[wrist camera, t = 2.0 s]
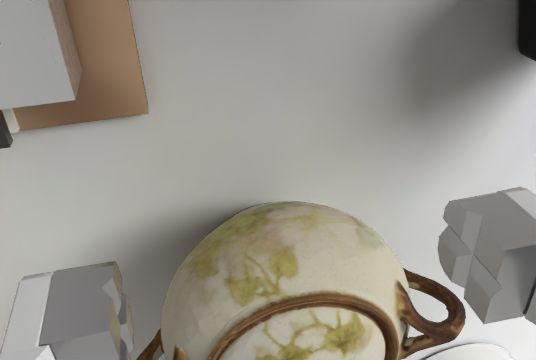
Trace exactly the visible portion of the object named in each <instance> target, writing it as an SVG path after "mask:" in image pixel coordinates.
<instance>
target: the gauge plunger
mask: <svg viewBox="0 0 536 360" xmlns="http://www.w3.org/2000/svg"><path fill="white" fill-rule="evenodd" d="M81 74H82V69H81V65H80V61H79V57H78V53H77V50H76V46H75V42H74V38H73V34H72V30H71V27H70V23H69V19H68V15H67V11H66V7H65V3H64V0H0V149H1V148H8V147H10V146H11V144H12V142H13V139H12V137H11V134H10V131H9V128H8V126H7V123H6V120H5V118H4V115H3V112H2V110H1V109H9V108H17V107H25V106H33V105H41V104H48V103H56V102H64V101H72V100H75V99H76V95H77V91H78V86H79V82H80V78H81Z"/></svg>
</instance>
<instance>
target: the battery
mask: <svg viewBox="0 0 536 360" xmlns="http://www.w3.org/2000/svg"><path fill="white" fill-rule="evenodd" d="M518 48H519V52H520V53H521V54H523V55H525V56H527V57H528V58H531V59H533V60H535V61H536V0H519V39H518Z"/></svg>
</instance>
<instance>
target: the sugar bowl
mask: <svg viewBox="0 0 536 360" xmlns="http://www.w3.org/2000/svg"><path fill="white" fill-rule="evenodd" d="M409 288H412V289H416V290H418V291H421V292H424V293H426V294H428V295H431V296H432V297H434V298H436V299H437V300H439V301H441V302H442V303H444V304H445V305H446V306H447V308H446V309H447V310H448V312H449V314H448V318H447V319H446V320H444V321H442V322H438V323H437V322H432V321H428V320H426V319H425V318H423V317H422V316H421V315H419V314H418V312H417V311H416V310H415V308H414V306H413V305H412V302H411V296H410V290H409ZM465 318H466V315H465V309H464V306H463V303H462V302H461V301H460V300H459V299H458V297H457V296H456V295H455V294H453V293H452V292H451V291H450V290H449V289H447V288H446V287H444V286H443V285H441V284H439V283H437V282H436V281H434V280H431V279H428V278H426V277H423V276H420V275H418V274H415V273H412V272H410V271H408V270H406V269H404V268H403V267H402V265H401V263H400V261H399V259H398V257H397V256H396V254H395V253H394V251H393V250H392V249H391V247H390V246H389V245H388V244H387V242H386V241H385V240H384V239H383V238H382V237H381V236H380V235H378V234H377V233H376V232H375V231H374V230H373V229H372V228H371V227H370V226H368V225H367V224H365V223H364V222H362V221H360V220H359V219H357V218H355V217H353V216H351V215H349V214H347V213H345V212H342V211H340V210H337V209H334V208H331V207H327V206H323V205H318V204H313V203H306V202H277V203H266V204H261V205H256V206H253V207H250V208H247V209H245V210H243V211H241V212H239V213H238V214H236V215H235V216H233V217H232V218H230V219H229V220H227V221H226V222H224V223H223V224H222V225H220V226H219V227H218V228H216V229H215V230H214V231H212V232H211V233H210V234H208V235H207V236H206V237H205V238H204V239H203V240H202V241H201V242H200V243H199V244H198V245H197V246H196V247H195V248H194V249H193V250H192V251H191V252H190V253H189V254H188V256H187V257H186V258H185V259H184V261H183V262H182V263H181V265H180V266H179V268H178V270H177V271H176V273H175V275H174V277H173V279H172V281H171V283H170V285H169V288H168V290H167V294H166V298H165V301H164V305H163V309H162V317H161V328H160V330H159V331H158V332H157V334H156V336H155V338H154V339H153V340H152V342H151V343H150V344H149V345H148V346H147V347H146V348H145V350H144V351H143V352H142V353H141V354H140V356H139V357H138V358H137V360H158V358H159V357H160V356H161V355H162V354H163V353H164V354H165V358H166V360H400V359H405V358H406V357H408V356H409V355H411V354H413V353H415V352H417V351H420V350H423V349H427V348H430V347H434V346H437V345H441V344H444V343H448V342H450V341H453V340H455V338H456V337H457V336H458V335H459V333H460V332H461V330H462V328H463V326H464V324H465ZM410 325H411V326H412V327H413V328H415V329H416V330H418V331H419V332H421V333H423V334H424V335H420V336H417V337H409V338H408V337H407V336H408V331H409V326H410Z"/></svg>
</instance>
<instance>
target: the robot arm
mask: <svg viewBox="0 0 536 360" xmlns="http://www.w3.org/2000/svg"><path fill="white" fill-rule="evenodd" d="M443 219H444V220H445V222H446V223H447V224H448V227H447V228H446V229H445V230H444V231H443V232H442V234H441V235H440V236H439V243H438V254H439V260H440V264H441V266H442V268H443V270H444V272H445V274H446V275H447V276H448V278H449V279H450V280H451V282H453V283H455V284H457V285H459V286H461V287H463V288H465V291H464V299H465V300H466V302H467V303H468V304H469V305H470V307H471V308H472V309H473V311H474V312H475V313H476V314H477V316H478V317H479V318H480V320H481V321H482V322H483V324H487V323H492V322H497V321H502V320H507V319H512V318H517V317H522V316H525V318H526V319H527V320H529V321H531V322H532V323H534V324H535V325H536V195H535V194H533V193H532V192H531V191H530V190H528V189H526V188H522V187H517V188H512V189H507V190H502V191H497V192H496V193H490V194H484V195H479V196H474V197H468V198H463V199H458V200H452V201H449V203H448V204H447V206H446V207H445V211H444V215H443ZM121 285H122V278H121V275H120V271H119V268H118V265H117V263H116V262H115V261H114V262H108V263H101V264H95V265H89V266H83V267H76V268H70V269H64V270H57V271H55V272H48V273H41V274H35V275H29V276H24V278H23V279H22V280H21V281H20V283H19V285H18V289H17V292H16V296H15V300H14V304H13V307H12V311H11V315H10V318H9V322H8V326H7V330H6V333H5V337H4V341H3V344H2V348H1V352H0V360H131V359H130V355H129V354H130V353H131V351H132V350H133V349H134V343H133V326H132V317H131V312H130V307H129V303H128V299H127V296H126V295H124V294H122V293H121ZM425 360H514V359H513V358H512V357H511V355H510V354H509V353H508V352H507V351H506V350H505V349H503V348H502V347H499V346H497V345H493V344H485V343H477V344H468V345H462V346H458V347H454V348H451V349H448V350H445V351H443V352H440V353H438V354H435V355H433V356H431V357H429V358H427V359H425Z"/></svg>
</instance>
